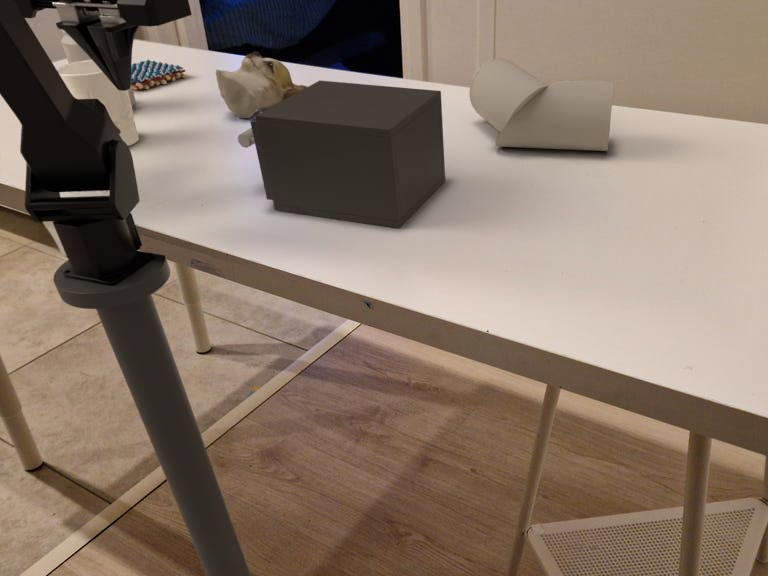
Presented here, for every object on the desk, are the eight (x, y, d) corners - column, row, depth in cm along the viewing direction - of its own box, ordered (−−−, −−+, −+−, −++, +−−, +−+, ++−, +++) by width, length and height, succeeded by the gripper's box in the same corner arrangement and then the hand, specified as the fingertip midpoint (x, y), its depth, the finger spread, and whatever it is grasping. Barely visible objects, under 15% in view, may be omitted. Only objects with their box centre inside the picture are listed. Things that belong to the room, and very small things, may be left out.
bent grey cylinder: (450, 149, 91) (607, 156, 89) (450, 59, 87) (615, 63, 84) (474, 134, 107) (607, 140, 104) (475, 57, 102) (615, 61, 100)
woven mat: (190, 77, 125) (187, 65, 124) (139, 93, 118) (135, 80, 117) (151, 69, 130) (148, 57, 129) (100, 84, 123) (96, 72, 122)
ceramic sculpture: (192, 52, 103) (277, 39, 112) (204, 114, 108) (284, 96, 118) (236, 64, 98) (321, 49, 107) (246, 129, 103) (327, 109, 112)
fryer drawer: (234, 195, 82) (216, 117, 77) (291, 157, 91) (278, 85, 86) (381, 215, 77) (372, 134, 72) (425, 173, 86) (420, 98, 81)
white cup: (132, 129, 104) (109, 55, 98) (151, 143, 99) (128, 67, 93) (76, 141, 100) (48, 66, 94) (93, 157, 95) (65, 78, 89)
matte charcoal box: (274, 210, 81) (254, 115, 74) (332, 167, 91) (319, 80, 84) (399, 228, 77) (389, 129, 70) (445, 181, 87) (441, 90, 80)
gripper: (204, -88, 71) (239, 76, 81) (59, -90, 77) (109, 64, 86) (127, -75, 63) (176, 105, 73) (-30, -79, 68) (36, 90, 78)
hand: (124, 89), depth 78 cm, fingers closed
